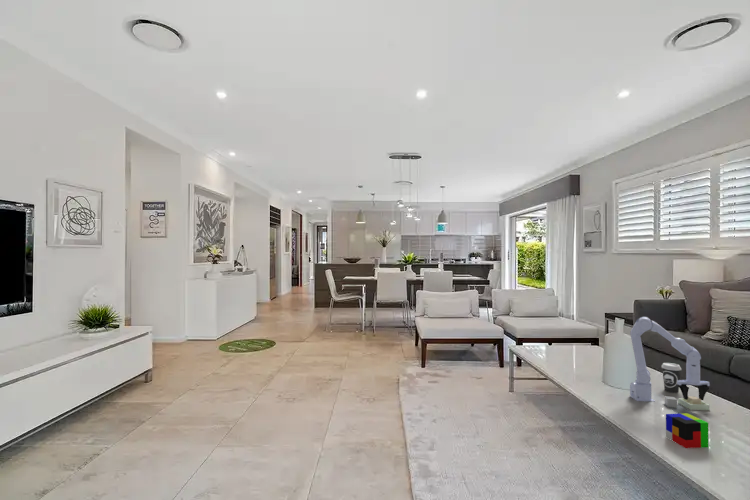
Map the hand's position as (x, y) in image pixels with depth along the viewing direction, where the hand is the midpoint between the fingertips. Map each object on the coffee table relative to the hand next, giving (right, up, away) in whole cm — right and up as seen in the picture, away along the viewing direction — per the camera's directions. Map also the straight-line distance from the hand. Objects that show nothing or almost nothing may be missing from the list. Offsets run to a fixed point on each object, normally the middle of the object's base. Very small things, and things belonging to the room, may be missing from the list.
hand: (693, 399), depth 211 cm
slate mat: (-10, -4, -4) cm, 12 cm away
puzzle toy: (-33, -4, -39) cm, 52 cm away
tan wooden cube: (0, -4, 0) cm, 4 cm away
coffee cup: (+7, -5, +25) cm, 27 cm away
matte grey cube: (-11, -4, +1) cm, 12 cm away
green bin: (0, -4, 0) cm, 4 cm away
